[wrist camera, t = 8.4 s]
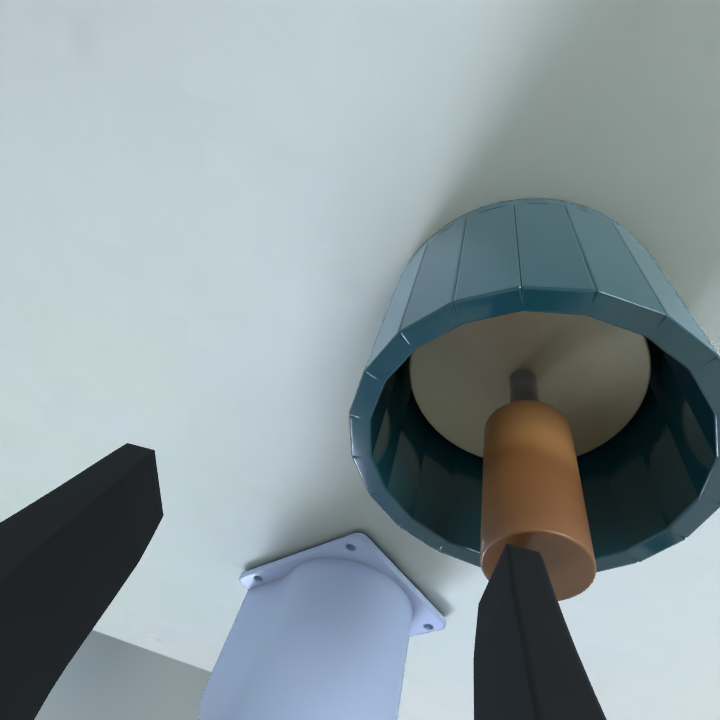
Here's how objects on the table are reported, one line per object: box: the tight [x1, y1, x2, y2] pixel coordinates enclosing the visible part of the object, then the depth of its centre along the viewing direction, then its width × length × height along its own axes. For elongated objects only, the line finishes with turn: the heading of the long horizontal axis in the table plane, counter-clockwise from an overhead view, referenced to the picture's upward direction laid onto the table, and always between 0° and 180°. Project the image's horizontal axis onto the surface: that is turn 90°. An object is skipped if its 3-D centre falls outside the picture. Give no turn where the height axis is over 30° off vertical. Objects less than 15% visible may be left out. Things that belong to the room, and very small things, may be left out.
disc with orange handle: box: [409, 311, 651, 601], centre depth 14 cm, size 7×7×9 cm
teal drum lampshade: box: [349, 198, 720, 572], centre depth 16 cm, size 9×9×7 cm
